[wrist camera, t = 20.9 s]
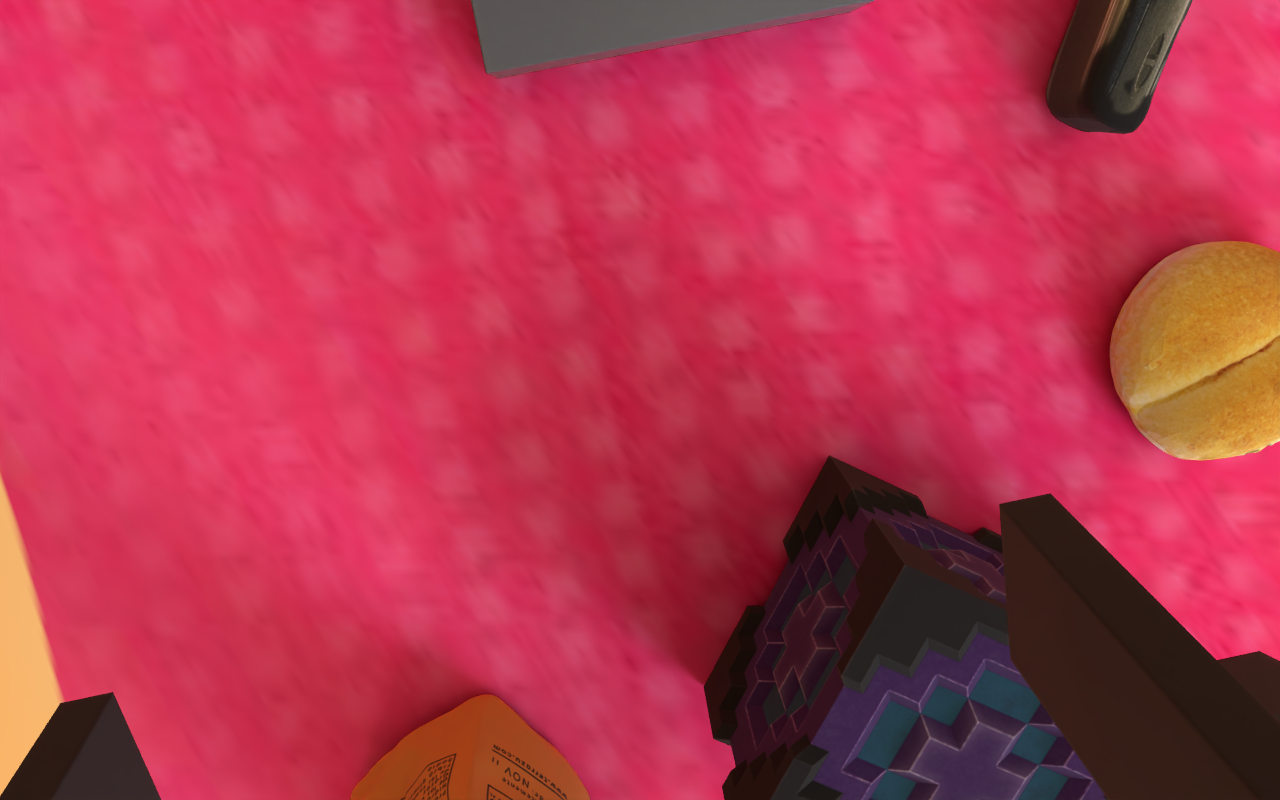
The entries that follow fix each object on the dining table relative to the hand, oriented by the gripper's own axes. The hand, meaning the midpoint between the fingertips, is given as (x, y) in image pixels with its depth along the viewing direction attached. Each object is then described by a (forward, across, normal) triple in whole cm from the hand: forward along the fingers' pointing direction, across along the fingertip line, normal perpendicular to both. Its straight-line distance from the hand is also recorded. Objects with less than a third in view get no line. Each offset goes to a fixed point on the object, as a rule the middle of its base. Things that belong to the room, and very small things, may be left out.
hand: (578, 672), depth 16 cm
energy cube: (+27, +11, -20) cm, 35 cm away
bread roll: (+28, +26, -10) cm, 40 cm away
